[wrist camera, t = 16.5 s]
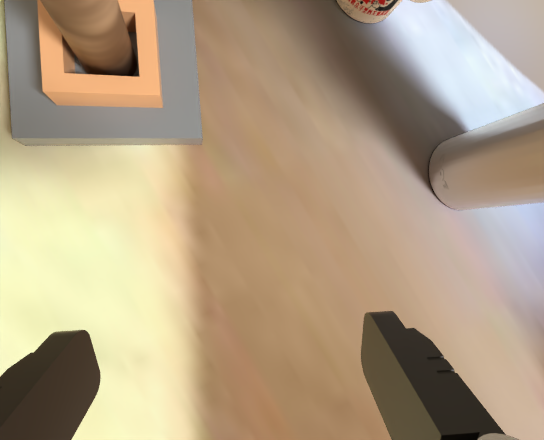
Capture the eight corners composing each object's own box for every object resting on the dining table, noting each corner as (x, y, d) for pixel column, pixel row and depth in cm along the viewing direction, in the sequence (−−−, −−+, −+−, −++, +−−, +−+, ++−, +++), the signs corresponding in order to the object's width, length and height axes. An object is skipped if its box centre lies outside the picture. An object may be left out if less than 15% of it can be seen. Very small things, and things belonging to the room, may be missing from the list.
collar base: (191, 8, 30) (191, -30, 26) (201, 144, 30) (203, 128, 26) (16, -11, 26) (-18, -60, 22) (25, 145, 26) (-9, 127, 22)
